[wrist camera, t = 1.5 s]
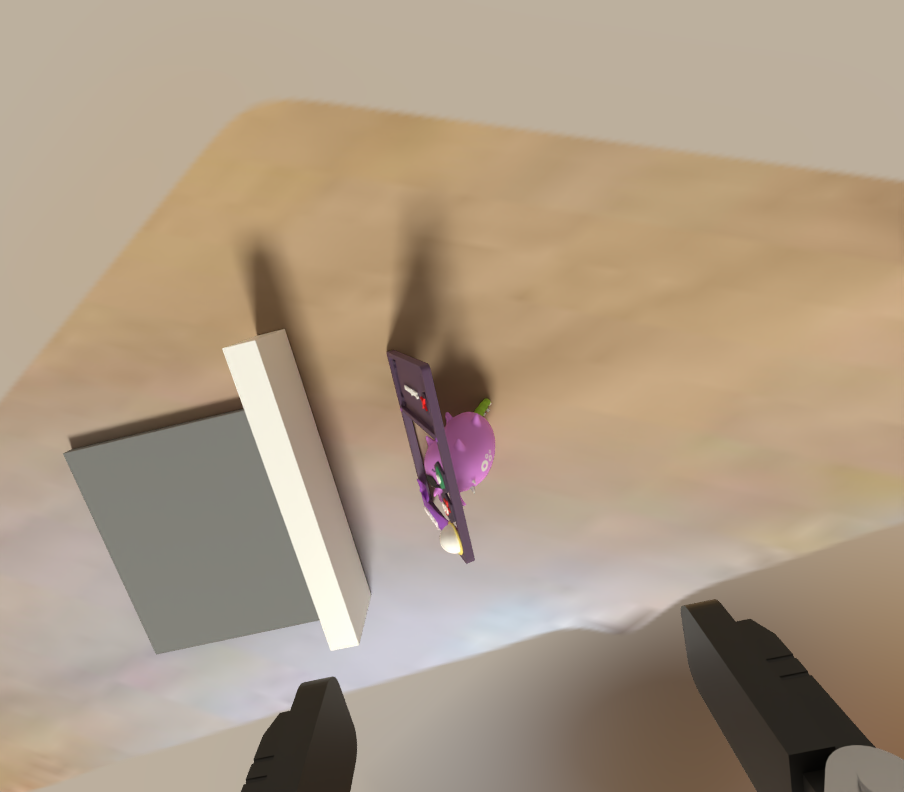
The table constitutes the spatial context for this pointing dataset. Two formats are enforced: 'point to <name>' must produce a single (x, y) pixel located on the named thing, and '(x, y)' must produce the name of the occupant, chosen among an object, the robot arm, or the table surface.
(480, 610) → the table surface
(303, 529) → the low wall
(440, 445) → the purple framed toy figure
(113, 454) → the rubber mat
